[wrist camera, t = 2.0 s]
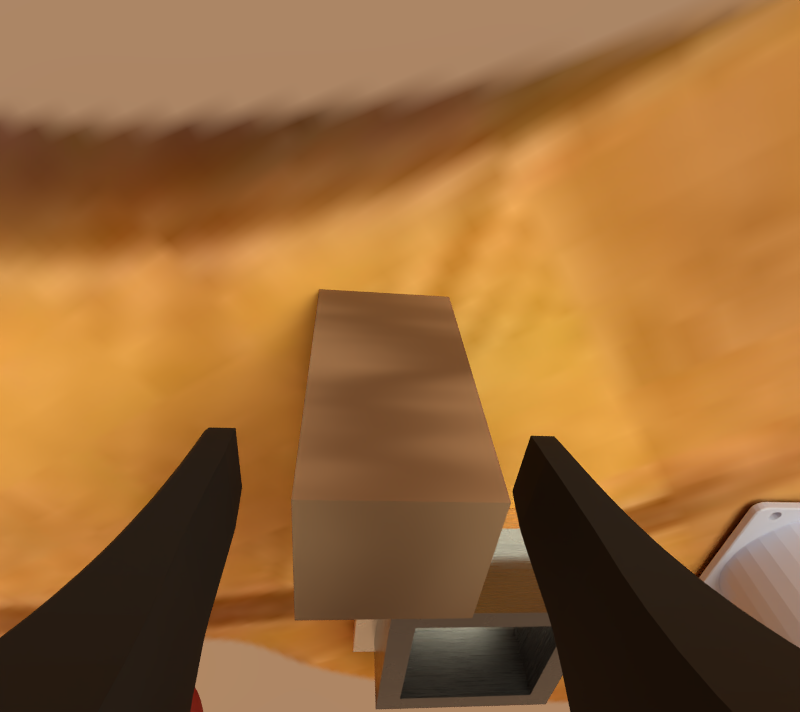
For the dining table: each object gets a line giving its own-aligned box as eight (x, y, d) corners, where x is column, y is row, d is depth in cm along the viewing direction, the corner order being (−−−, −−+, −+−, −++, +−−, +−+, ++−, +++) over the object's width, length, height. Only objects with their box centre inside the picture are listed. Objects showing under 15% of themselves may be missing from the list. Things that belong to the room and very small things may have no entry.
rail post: (449, 297, 16) (510, 502, 10) (431, 396, 18) (472, 618, 12) (319, 289, 16) (291, 499, 9) (318, 392, 18) (295, 620, 11)
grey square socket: (593, 510, 23) (633, 597, 19) (536, 629, 28) (560, 712, 25) (365, 507, 21) (366, 599, 18) (353, 632, 27) (352, 719, 24)
